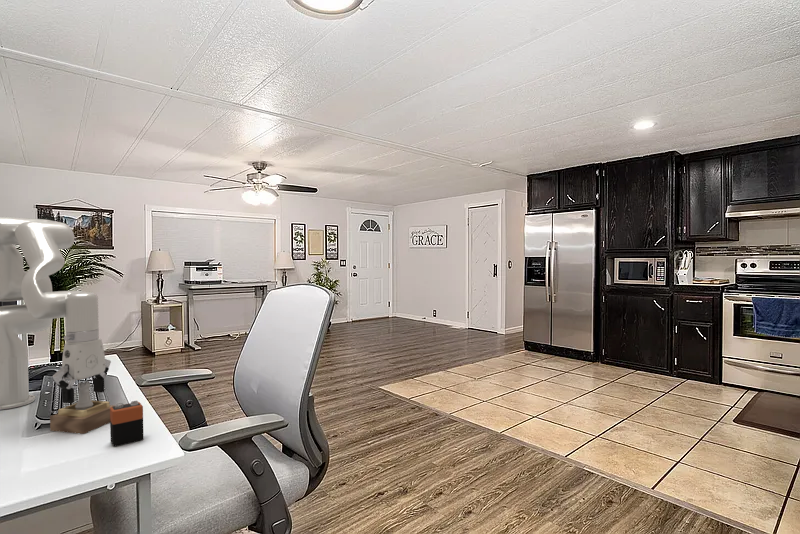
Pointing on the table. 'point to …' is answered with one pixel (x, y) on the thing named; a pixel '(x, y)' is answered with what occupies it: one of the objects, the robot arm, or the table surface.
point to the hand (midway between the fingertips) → (84, 397)
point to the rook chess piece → (84, 396)
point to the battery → (126, 423)
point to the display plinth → (81, 418)
